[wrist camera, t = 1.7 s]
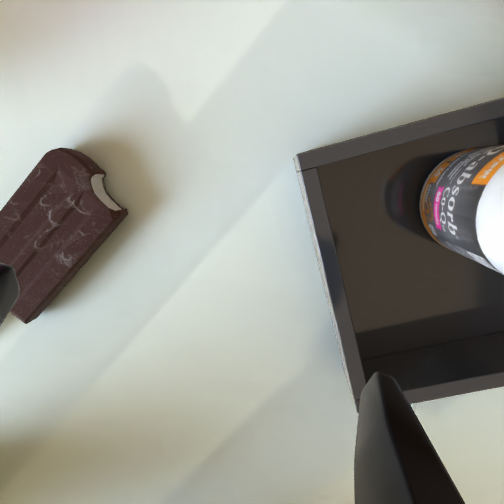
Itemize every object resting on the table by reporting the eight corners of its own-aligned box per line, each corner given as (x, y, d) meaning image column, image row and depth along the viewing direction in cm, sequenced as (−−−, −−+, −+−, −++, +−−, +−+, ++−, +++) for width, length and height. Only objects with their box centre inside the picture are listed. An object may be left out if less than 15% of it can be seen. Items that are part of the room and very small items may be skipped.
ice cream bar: (-3, 364, 26) (139, 202, 23) (-22, 376, 24) (128, 204, 21) (-65, 311, 25) (72, 139, 23) (-88, 320, 24) (56, 136, 21)
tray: (576, 327, 23) (641, 361, 18) (344, 373, 24) (357, 414, 20) (547, 88, 20) (614, 66, 16) (293, 157, 22) (295, 154, 18)
